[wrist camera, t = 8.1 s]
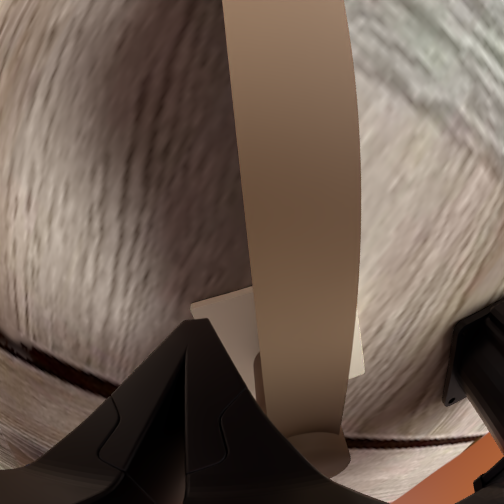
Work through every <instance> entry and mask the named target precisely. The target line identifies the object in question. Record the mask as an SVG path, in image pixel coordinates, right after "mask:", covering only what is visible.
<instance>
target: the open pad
mask: <svg viewBox="0 0 504 504" xmlns="http://www.w3.org/2000/svg"><path fill="white" fill-rule="evenodd" d="M190 311H191V313H192V315H193V317H194V319H201V318H208V319H209V320H210V322H211V324H212V326H213V327H214V329H215V331H216V333H217V335H218V337H219V338H220V340H221V342H222V344H223V346H224V347H225V349H226V351H227V353H228V354H229V356H230V358H231V360H232V361H233V363H234V365H235V367H236V368H237V370H238V372H239V374H240V375H241V377H242V379H243V380H244V382H245V384H246V385H247V387H248V389H249V390H250V392H251V393H252V395H253V397H254V398H255V400H256V394H255V381H254V369H253V363H254V359H255V357H256V355H257V354H258V353H259V351H260V349H259V340H258V331H257V322H256V313H255V304H254V295H253V286H251V287H247V288H244V289H241V290H237V291H234V292H230V293H227V294H223V295H220V296H216V297H213V298H209V299H206V300H202V301H199V302H195V303H192V304H191V307H190ZM362 374H365V368H364V359H363V350H362V342H361V334H360V326H359V319H358V312H357V308H356V319H355V329H354V339H353V347H352V356H351V364H350V371H349V378H348V379H351V378H354V377H356V376H359V375H362Z"/></svg>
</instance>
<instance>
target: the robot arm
mask: <svg viewBox="0 0 504 504" xmlns="http://www.w3.org/2000/svg"><path fill="white" fill-rule="evenodd" d="M465 397H467V398H468V399H469V401H470V402H471V404H472V405H473V407H474V408H475V410H476V411H477V413H478V414H479V416H480V417H481V419H482V421H483V422H484V424H485V425H486V427H487V429H488V430H489V432H490V433H491V435H492V436H493V438H494V440H495V442H496V443H497V445H498V446H499V448H500V450H501V451H502V453H503V455H504V298H503V299H501V300H500V301H498V302H496V303H494V304H492V305H491V306H489V307H487V308H485V309H483V310H481V311H479V312H477V313H475V314H474V315H472V316H470V317H468V318H466V319H464V320H462V321H460V322H459V323H458V324H457V325H456V327H455V328H454V331H453V338H452V346H451V353H450V360H449V366H448V372H447V377H446V383H445V388H444V393H443V397H442V402H443V403H444V405H445V406H446V407H447V406H450V405H452V404H454V403H456V402H458V401H460V400H462V399H463V398H465ZM473 484H474V490H475V493H474V494H472V495H470V496H468V497H466V498H465V499H463V500H461V501H459V502H457V503H455V504H504V457H503V458H502V459H501V460H500V461H498V462H497V463H496V464H495V465H494V466H493V467H492V468H491V469H490V470H489V471H487V472H486V473H484V474H482V475H481V476H479V477H478V478H477V479H476V480H475V481H474V482H473ZM0 504H389V503H387V502H384V501H381V500H378V499H375V498H373V497H370V496H368V495H365V494H362V493H360V492H357V491H355V490H352V489H350V488H348V487H345V486H343V485H341V484H338V483H336V482H334V481H332V480H331V479H329V478H328V477H326V476H325V475H324V474H322V473H321V472H320V471H319V470H318V469H316V468H315V467H314V466H313V465H312V464H311V463H310V462H309V461H308V460H307V459H306V458H305V457H304V456H303V455H302V454H301V453H300V452H299V451H298V450H297V449H296V448H295V447H294V446H293V445H292V444H291V443H290V442H289V441H288V439H287V438H286V437H285V436H284V435H283V434H282V433H281V432H280V431H279V430H278V429H277V428H276V426H275V425H274V424H273V423H272V422H271V421H270V419H269V418H268V417H267V416H266V414H265V413H264V412H263V410H262V409H261V407H260V406H259V404H258V403H257V401H256V400H255V398H254V397H253V395H252V393H251V392H250V390H249V389H248V387H247V385H246V384H245V382H244V380H243V379H242V377H241V375H240V374H239V372H238V370H237V368H236V367H235V365H234V363H233V361H232V360H231V358H230V356H229V354H228V353H227V351H226V349H225V347H224V346H223V344H222V342H221V340H220V338H219V337H218V335H217V333H216V331H215V329H214V327H213V326H212V324H211V322H210V320H209V319H208V318H201V319H193V320H185V321H183V322H182V323H181V324H180V325H179V326H178V327H177V328H176V329H175V330H174V331H173V332H172V333H171V334H170V335H169V336H168V337H167V338H166V339H165V340H164V341H163V342H162V343H161V344H160V345H159V346H158V347H157V348H156V349H155V350H154V351H153V352H152V354H151V355H150V356H149V357H148V358H147V359H146V360H145V361H144V362H143V363H142V364H141V365H140V366H139V367H138V368H137V369H136V370H135V371H134V372H133V373H132V374H131V375H130V376H129V377H128V378H127V379H126V380H125V381H124V382H123V383H122V384H121V385H120V386H119V387H118V388H117V389H116V390H115V391H114V392H113V393H112V394H111V397H108V398H107V399H106V400H105V401H104V402H103V403H102V404H101V405H100V406H99V407H98V408H97V409H96V410H95V411H94V412H93V413H92V414H91V415H90V416H89V417H88V418H87V419H86V420H85V421H83V422H82V423H81V424H80V425H79V426H78V427H77V428H75V429H74V430H73V431H72V432H71V433H69V434H68V435H67V436H66V437H65V438H63V439H62V440H61V441H60V442H59V443H57V444H56V445H55V446H54V447H52V448H51V449H50V450H49V451H47V452H46V453H45V454H44V455H43V456H41V457H40V458H39V459H37V460H36V461H35V462H33V463H31V464H29V465H27V466H24V467H21V468H16V469H6V470H0Z"/></svg>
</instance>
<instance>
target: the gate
mask: <svg viewBox="0 0 504 504" xmlns="http://www.w3.org/2000/svg"><path fill="white" fill-rule="evenodd" d="M222 4H223V14H224V24H225V33H226V43H227V53H228V62H229V72H230V81H231V91H232V100H233V110H234V119H235V129H236V138H237V147H238V157H239V166H240V175H241V185H242V194H243V203H244V213H245V222H246V231H247V240H248V249H249V259H250V268H251V277H252V286H253V295H254V304H255V313H256V322H257V331H258V340H259V349H260V351H259V353H258V354H257V355H256V357H255V359H254V363H253V369H254V381H255V394H256V401H257V403H258V404H259V406H260V407H261V409H262V410H263V412H264V413H265V414H266V416H267V417H268V418H269V419H270V421H271V422H272V423H273V424H274V425H275V426H276V428H277V429H278V430H279V431H280V432H281V433H282V434H283V435H284V436H285V437H286V438H287V439H288V441H289V442H290V443H291V444H292V445H293V446H294V447H295V448H296V449H297V450H298V451H299V452H300V453H301V454H302V455H303V456H304V457H305V458H306V459H307V460H308V461H309V462H310V463H311V464H312V465H313V466H314V467H315V468H316V469H318V470H319V471H320V472H321V473H322V474H324V475H325V476H326V477H328V478H331V477H333V476H335V475H337V474H339V473H340V472H341V471H343V470H344V469H345V468H346V467H347V466H348V464H349V463H350V459H351V458H350V454H349V450H348V447H347V444H346V440H345V437H344V434H343V431H342V428H341V421H342V416H343V410H344V404H345V398H346V392H347V385H348V378H349V371H350V364H351V356H352V347H353V339H354V329H355V319H356V308H357V295H358V281H359V263H360V238H361V163H360V138H359V121H358V107H357V95H356V85H355V75H354V66H353V58H352V50H351V43H350V36H349V29H348V23H347V17H346V11H345V5H344V0H222Z"/></svg>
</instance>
